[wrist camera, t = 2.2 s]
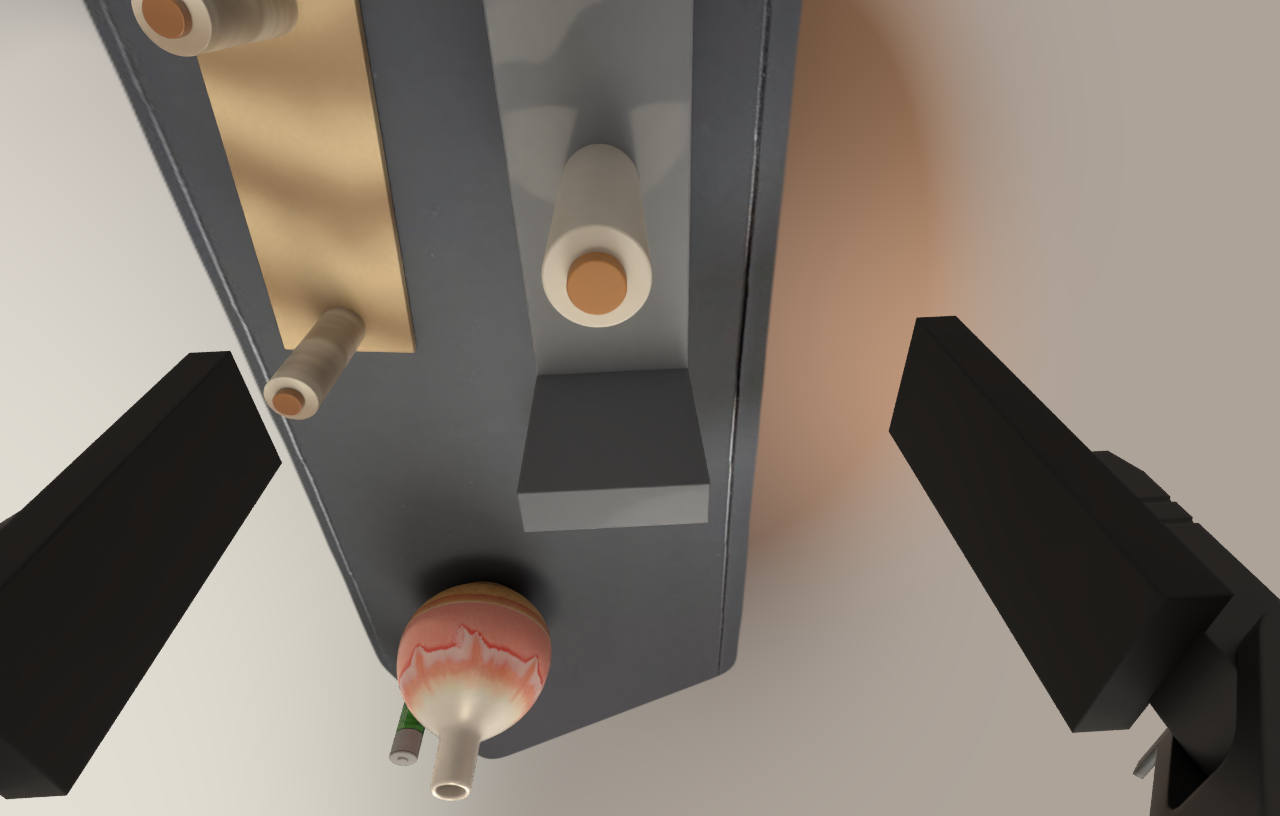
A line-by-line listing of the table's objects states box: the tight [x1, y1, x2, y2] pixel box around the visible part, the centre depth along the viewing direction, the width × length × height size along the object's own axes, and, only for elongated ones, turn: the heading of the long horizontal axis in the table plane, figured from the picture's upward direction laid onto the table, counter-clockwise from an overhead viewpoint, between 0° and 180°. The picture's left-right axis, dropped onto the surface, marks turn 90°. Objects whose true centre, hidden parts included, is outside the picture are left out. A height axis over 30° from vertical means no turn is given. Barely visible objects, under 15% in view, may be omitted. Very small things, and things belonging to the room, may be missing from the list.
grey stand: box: [483, 0, 710, 532], centre depth 28 cm, size 21×7×24 cm, turn 2°
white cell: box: [541, 144, 652, 327], centre depth 21 cm, size 3×3×10 cm
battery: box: [389, 702, 425, 766], centre depth 65 cm, size 3×3×10 cm
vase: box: [397, 581, 551, 801], centre depth 56 cm, size 14×14×18 cm
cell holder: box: [131, 0, 416, 419], centre depth 35 cm, size 23×9×10 cm, turn 177°
